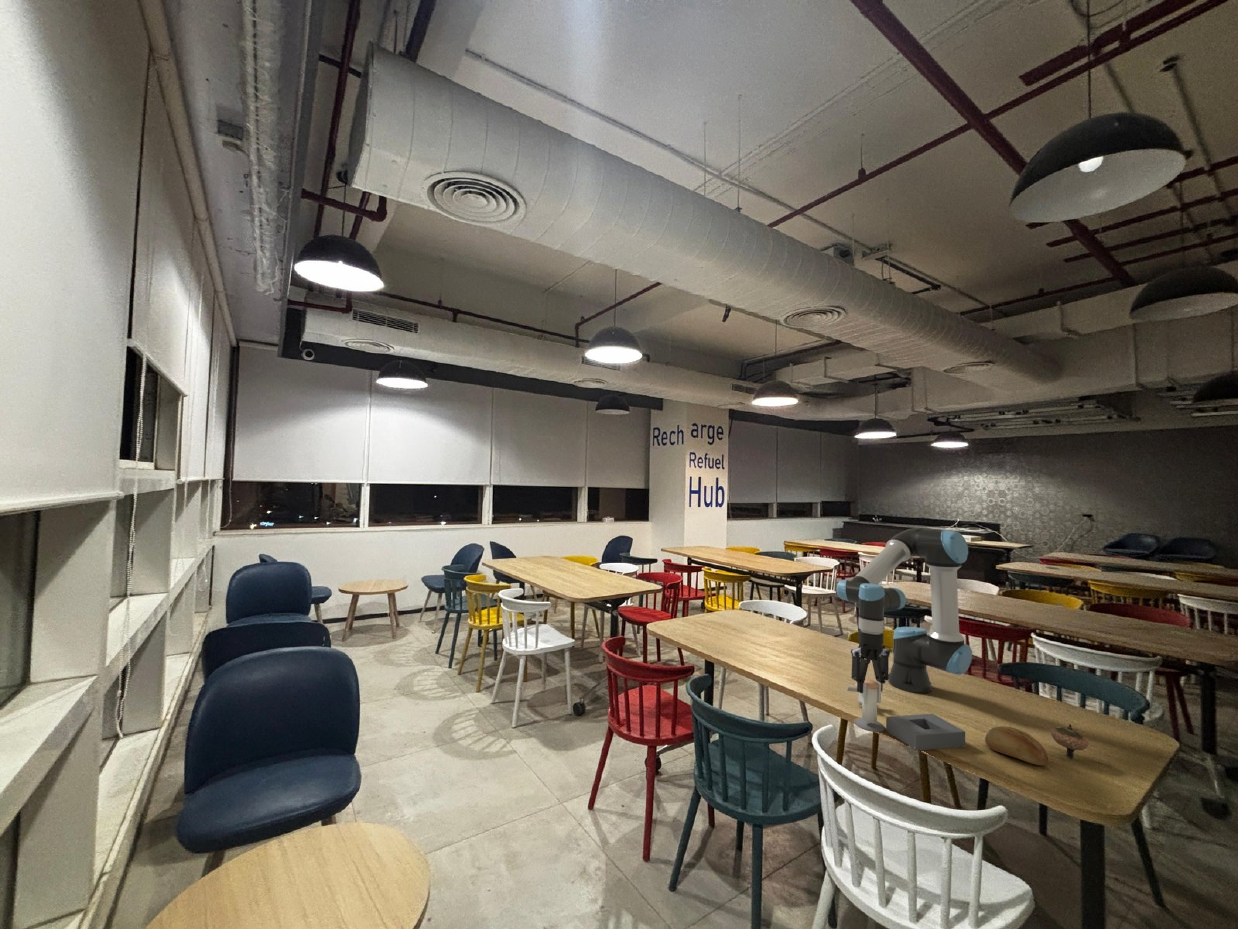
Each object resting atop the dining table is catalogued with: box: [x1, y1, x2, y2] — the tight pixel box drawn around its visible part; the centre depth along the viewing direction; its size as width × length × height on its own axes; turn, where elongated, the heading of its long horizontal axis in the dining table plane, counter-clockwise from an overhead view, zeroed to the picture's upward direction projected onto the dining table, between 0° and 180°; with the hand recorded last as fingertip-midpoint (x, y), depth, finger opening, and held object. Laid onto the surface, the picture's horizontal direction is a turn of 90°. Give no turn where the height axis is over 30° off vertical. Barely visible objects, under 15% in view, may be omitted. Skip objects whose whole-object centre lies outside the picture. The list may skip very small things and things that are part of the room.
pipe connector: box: [845, 678, 862, 706], centre depth 178 cm, size 10×10×10 cm
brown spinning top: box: [1050, 723, 1089, 759], centre depth 146 cm, size 8×8×10 cm
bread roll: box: [984, 725, 1049, 766], centre depth 145 cm, size 10×15×8 cm, turn 39°
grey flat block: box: [885, 713, 966, 752], centre depth 154 cm, size 18×12×4 cm, turn 102°
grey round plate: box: [853, 717, 886, 733], centre depth 161 cm, size 9×9×1 cm
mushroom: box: [861, 678, 878, 723], centre depth 161 cm, size 5×5×12 cm
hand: (869, 701), depth 161 cm, fingers closed on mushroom, 5 cm apart
